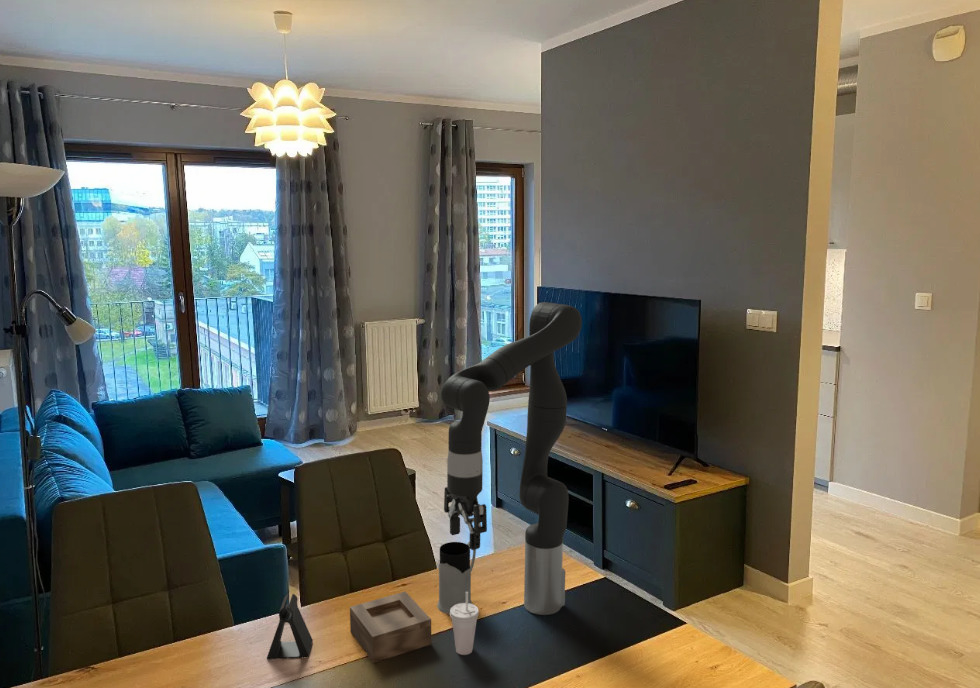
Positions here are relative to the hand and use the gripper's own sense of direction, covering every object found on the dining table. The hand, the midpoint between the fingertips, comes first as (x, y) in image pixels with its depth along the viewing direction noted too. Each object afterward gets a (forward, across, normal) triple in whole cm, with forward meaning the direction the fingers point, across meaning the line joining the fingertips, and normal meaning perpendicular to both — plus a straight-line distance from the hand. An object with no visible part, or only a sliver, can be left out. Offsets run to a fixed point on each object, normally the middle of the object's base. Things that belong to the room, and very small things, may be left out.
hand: (464, 541), depth 159 cm
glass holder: (+26, +19, -10) cm, 34 cm away
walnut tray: (+26, +13, +12) cm, 32 cm away
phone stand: (+26, +20, +33) cm, 47 cm away
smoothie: (+26, 0, 0) cm, 26 cm away
